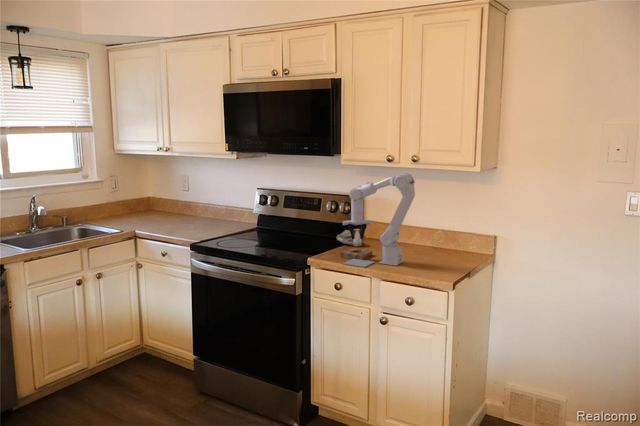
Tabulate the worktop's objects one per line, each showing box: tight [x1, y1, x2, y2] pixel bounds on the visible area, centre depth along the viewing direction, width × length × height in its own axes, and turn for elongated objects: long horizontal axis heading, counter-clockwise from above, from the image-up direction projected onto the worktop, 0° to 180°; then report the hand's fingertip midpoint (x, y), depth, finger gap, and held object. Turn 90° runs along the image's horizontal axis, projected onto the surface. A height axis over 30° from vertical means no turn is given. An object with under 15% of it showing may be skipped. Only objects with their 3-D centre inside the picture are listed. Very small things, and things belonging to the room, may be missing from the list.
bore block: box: [339, 247, 373, 260], centre depth 261 cm, size 12×12×2 cm
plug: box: [352, 228, 362, 247], centre depth 255 cm, size 4×4×8 cm
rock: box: [335, 229, 364, 246], centre depth 288 cm, size 18×10×10 cm
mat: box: [342, 259, 375, 268], centre depth 247 cm, size 12×10×1 cm
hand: (357, 239), depth 255 cm, fingers closed on plug, 4 cm apart
